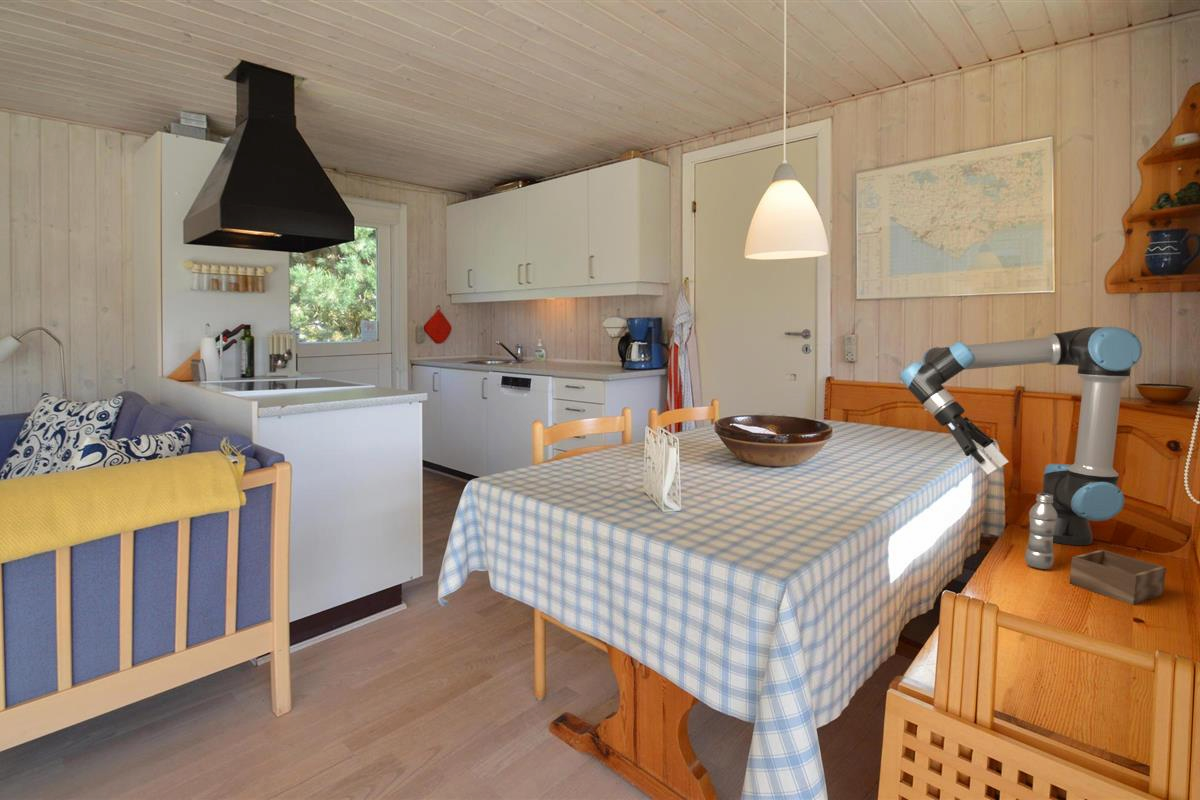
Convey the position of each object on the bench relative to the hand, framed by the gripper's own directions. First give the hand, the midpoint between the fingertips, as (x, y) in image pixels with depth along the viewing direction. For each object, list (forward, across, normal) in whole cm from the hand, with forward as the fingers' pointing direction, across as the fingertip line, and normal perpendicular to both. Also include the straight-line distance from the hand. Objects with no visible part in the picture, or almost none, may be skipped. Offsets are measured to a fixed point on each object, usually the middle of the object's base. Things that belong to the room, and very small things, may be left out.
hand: (998, 467), depth 177 cm
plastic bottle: (+26, 0, -10) cm, 28 cm away
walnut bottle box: (+38, +4, +2) cm, 38 cm away
